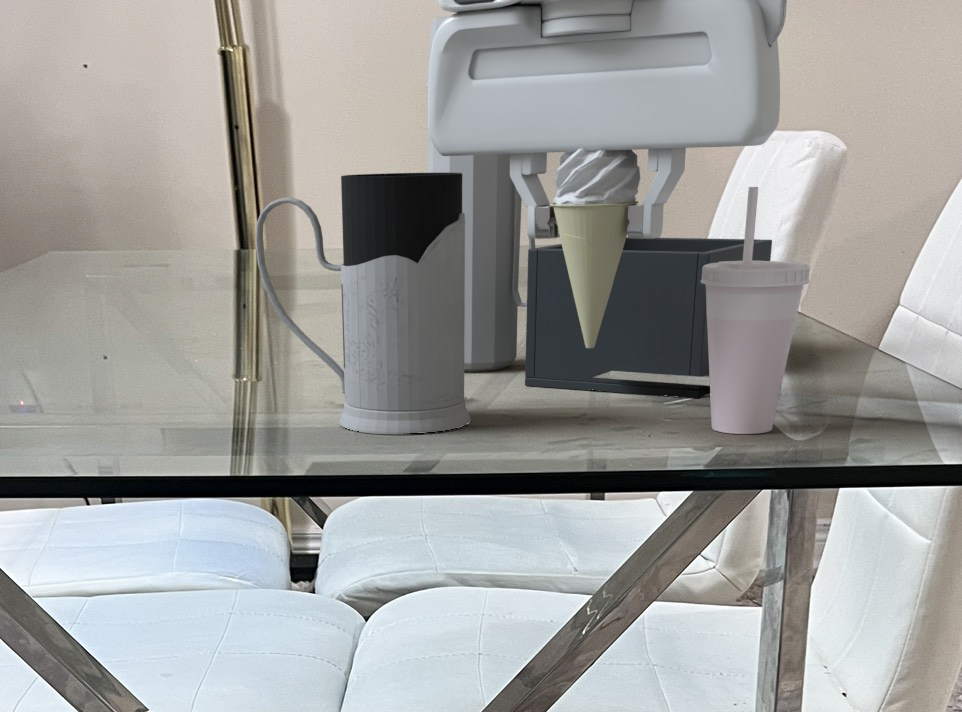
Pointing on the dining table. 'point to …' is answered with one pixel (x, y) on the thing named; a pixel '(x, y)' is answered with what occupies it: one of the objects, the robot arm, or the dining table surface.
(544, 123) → the robot arm
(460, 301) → the glass holder
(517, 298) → the water bottle
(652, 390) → the open storage box
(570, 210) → the ice cream cone
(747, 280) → the smoothie
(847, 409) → the dining table surface
